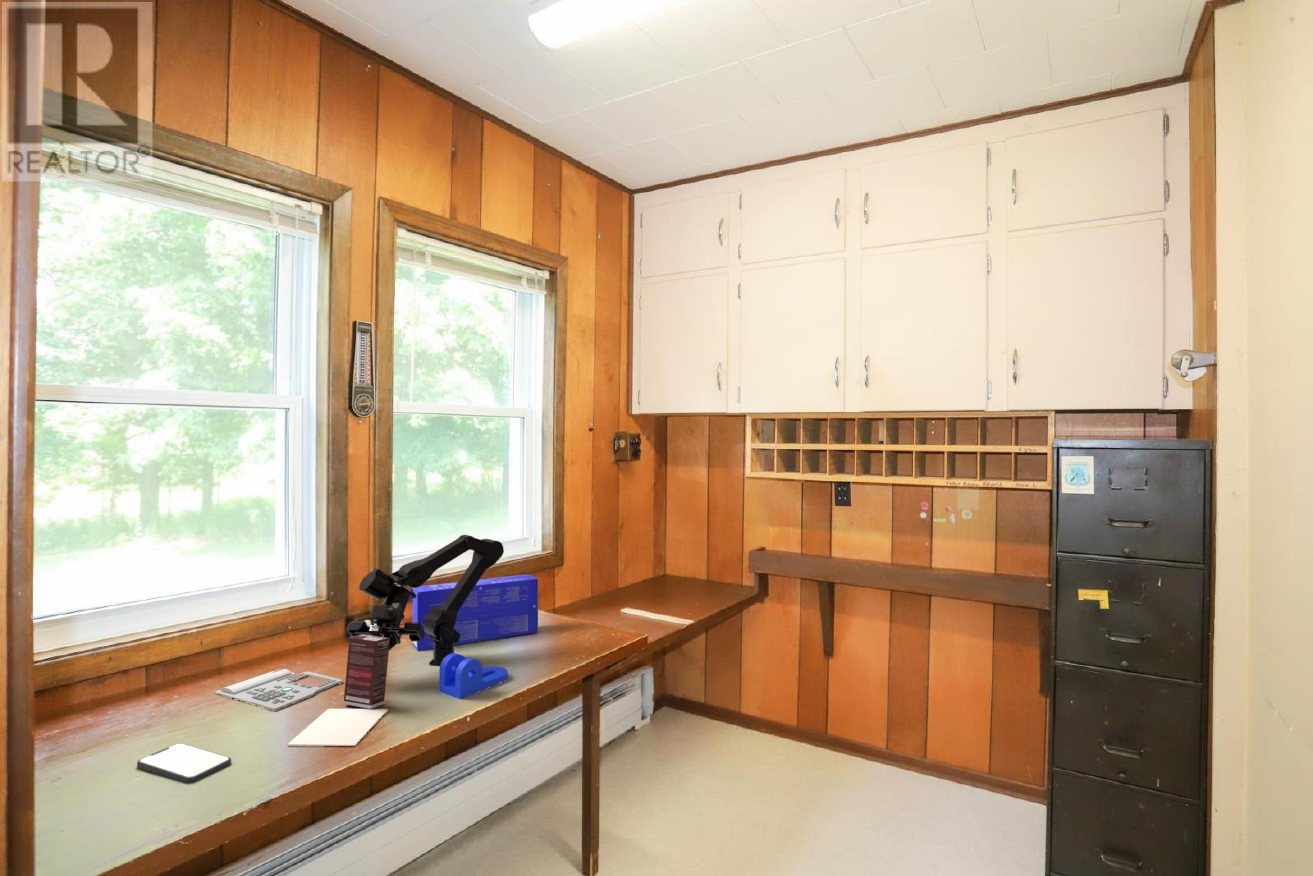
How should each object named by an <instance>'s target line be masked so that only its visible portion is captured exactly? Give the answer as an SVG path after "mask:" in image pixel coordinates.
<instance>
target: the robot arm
mask: <svg viewBox="0 0 1313 876" xmlns="http://www.w3.org/2000/svg"><path fill="white" fill-rule="evenodd" d="M470 550H471V551H473V552H472V558H471V559H472V560H471V562H470V564H469V565H468V567H467V568H466V570H465V571H464V573H462V575H461V577H460V578H459V580H458V583H457V584H456V586H455V587H454V589H453V590H452V592H451V593H450V595H449V596H448V598H447V599H446V600H445V602H444V603H443V604H442V605H441V606H439V607H436V606H433V607H432V608H431V610H430V612H429V613H428V614H427V615H426V616H425V617H424V618H426V619H425V621H424V624H423V625H424V630H425V632H426V633H428V635H429V637H430V639H433V640H434V649H433V652H432V653H433V654H432V655H433V658H432V659H431V660H430V661H429V663H428V664H429V666H433V665H434V666H437V665H438V666H440V665H441V662H442V661H443V659H444V658H445V657H446V656H447V655H449V654H451V653H455V646H454V643H455V642H458V641H459V638H460V634H459V633H458V632H457V631H456V630H455V629H454V628H453V627H454V625H455V623H456V619H457V613H458V611H459V609H460V608H461V606H462V605H463V603H464V602H465V600H466V599H467V597H468V596H469V594H470V593H471V591H472V590H473V588H474V587H475V585H476V584H477V582H478V581H479V580H481V578H482V576H483V575H484V574H485V572H486V571H487V570H488V569H490V568H492V566H494V565H496V563H497V562H498V561H499V560H501V558H502V557H503V555H504V553H505V550H504V546H503V543H502V542H501V541H499V540H493V539H491V538H490V539H489V538H483V539H482V538H481V539H479V538H476V537H474V536H473V535H469V534H461V535H459V536H458V538H456V539H455V540H453V541H451V542H450V543H448V544H446V545H445V546H443V547H441V548H440V549H437V550H436V551H435V552H433V553H431V554H429V555H428V556H426V557H424V558H421V559H416V560H413V561H411V562H408V563H405V564H403V565H402V566H400V567H399V568H398V570H396V571H395V572H392V573H389V574H386V573H385V572H383V571H382V570H381V569H379V568H377V567H374V569H373V570H372V571H370V572H368V573H367V574H366V576H363V578H362V580H361V581H360V583H359V587H358V588H359V591H360V592H362V593H365V594H366V595H368V596H370V597H371V598H373V599H375V600H377V601H380V600H382V599H383V600H384V602H383V604H381V605H380V604H372V605H371V611H370V614H369V615H370V616H369V618H370V619H373V620H372V622H373V625H372V624H371V625H370V626H368V624H367V622H366V621H365V620H352V621H350V622H349V623H347V627H346V632H347V634H348V635H349V638H350V637H353V636H357V635H362V634H364V635H371V636H378V637H386V638H390V643H389V652H390V650H392V649H393V648H394V647H395V646H396V645H400V644H401V639H402V638H401V637H402V636H408V638H409V640H410V641H411V642H413V641H416V642H421V641H423V638H424V630H423V628H422V626H421V624H420V623H419V622H413V621H406V622H405V623H404V624H403V626H401V623H402V620H404V619H405V615H404V613H405V610H406V607H407V603H408V602H409V601H413V599H414V598H416V597H417V596H416V594H415V593H414V592H413V588H417V587H420V586H423V585H424V584H425V583H426V582H427V581H428V580H429V579H430V578H431V577H432V576H433V574H434V573H435V572H436V571H437V570H439V569H441V568H442V567H443V566H445V565H447V564H448V563H450V562H452V561H453V560H454V559H456V558H458V557H460V556H461V555H463V554H464V553H466V552H468V551H470ZM406 587H407V588H406ZM408 587H409V588H411V589H408Z"/></svg>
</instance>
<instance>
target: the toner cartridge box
mask: <svg viewBox="0 0 1313 876" xmlns="http://www.w3.org/2000/svg"><path fill="white" fill-rule="evenodd" d="M457 583H458V582H457V581H456V582H447V583H438V584H429V585H421V586H420V587H417V588H412V589H413V592H414V593H415V594H416V596H417V597H416V598H414V599H412V622H419V623H420V624H421V626H422V628H423V630H424V625H423V624H424V621H425V619H426V618H424V617H425V616H426V615H427V614H428V613H429V612H430V610H431V608H432V607H433V606H436V607H439V606H441V605H442V604H443V603H444V602H445V600H446V599H447V598H448V596H449V595H450V593H451V592H452V590H453V589H454V587H455V586H456V584H457ZM453 628H454V629H455V630H456V631H457V632H458V633H459V634H460V638H459V641H458V642H455V643H454V645H455V646H460V645H461V646H462V645H467V644H466V643H468V644H473V642H474V643H479V641H481V642H486V641H487V642H488V641H492V640H497V639H504V638H509V637H515V636H521V635H527V634H536V633H539V579H538V578H537V577H536V576H534V575H532V574H521V575H511V576H502V577H491V578H485V579H479V581H478V582H477V584H476V585H475V587H474V588H473V590H472V591H471V593H470V594H469V596H468V597H467V599H466V600H465V602H464V603H463V605H462V606H461V608H460V609H459V611H458V613H457V619H456V623H455V625H454V627H453ZM412 645H413V647H414V646H415V647H414V648H415V650H416V651H417V652H421V651H420V650H422V651H428V650H427V649H429V650H432V649H433V648H434V640H433V639H430V637H429V635H428V633H426V632H425V630H424V638H423V641H421V642H416V641H412Z"/></svg>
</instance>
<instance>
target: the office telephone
mask: <svg viewBox="0 0 1313 876" xmlns="http://www.w3.org/2000/svg"><path fill="white" fill-rule="evenodd" d="M295 674H296V672H293V671H291V670H289V669H287V668H286V667H282V668H278V669H276V670H273V671H270V672H267V673H264V674H261V675H258V676H255V677H252V678H249V679H247V680H244V681H240V682H238V683H234V684H231V685H228V686H226V687H225V686H224V687H222V688H221V689H218V690H215V691H214V694H215V693H217V694H219V695H218V696H220V695H223V696H230V697H232V698H235V699H238V700H244V701H247V702H250V703H252V704H255V705H259V706H262V707H264V708H266V709H268V710H267V711H269V710H272V711H271V712H273V711H275V710H278V711H280V709H281V708H283V709H285V708H284V707H285V706H288V705H291V704H293V703H295V702H298V701H300V700H303V701H305V700H304V699H306V698H308V697H310V696H313V695H315V696H316V694H317V693H316V692H318V691H321V692H323V691H322V690H324V689H326V688H328V687H331V688H333V687H332V686H334V685H336V684H339V683H342V684H343V679H342V678H337V677H334V676H330V675H325V674H320V673H316V672H312V671H303V672H301V673H298V674H296V675H295ZM293 675H295V676H293ZM291 676H293V677H291ZM306 676H311V677H315V678H314V679H316V678H322V679H325V680H328V681H329V682H328V681H326V682H324V683H321V684H320V685H316V686H311V685H307V684H302V683H298V682H292V681H294V680H296V679H299V678H303V677H306ZM289 677H290V678H289ZM311 677H310V678H311ZM284 678H287V679H284ZM306 678H307V677H306ZM282 679H284V680H282ZM303 679H304V678H303ZM280 680H281V681H280ZM277 681H278V682H277ZM339 685H340V684H339ZM336 686H337V685H336ZM334 687H335V686H334ZM326 690H327V689H326ZM324 691H325V690H324ZM315 693H316V694H315ZM217 694H216V695H217ZM223 696H222V697H223ZM313 697H314V696H313ZM310 698H311V697H310ZM308 699H309V698H308ZM306 700H307V699H306ZM298 703H299V702H298ZM293 705H294V704H293ZM291 706H292V705H291ZM288 707H289V706H288ZM266 709H265V710H266ZM281 710H282V709H281ZM275 712H276V711H275Z"/></svg>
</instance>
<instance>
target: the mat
mask: <svg viewBox="0 0 1313 876" xmlns="http://www.w3.org/2000/svg"><path fill="white" fill-rule="evenodd" d="M388 711H389V709H388V708H372V709H368V708H327V709H326V710H325V711H324V712H323V713H321V714H320V715H319V716H318V717H317V718H316V719H314V720H313V722H311V723H310V724H308V726H307V727H305V728H304V729H303V730H301V732H300V733H299V734H298V735H297V736H295V737H294V738H293V739H292V740H291V741H290V742H288V743H287V747H324V746H355V747H356V746H357V745H358V744H359V743H360V742H361V741H362V740H363V739H364V737H366V735H367V734H368V733H369V732H370V731H371V730H372V729H373V728H374V727H373V726H376V724H378V722H379V721H380V720H382V718H383V717H384V716H385V715H386V714H387V713H388ZM384 714H385V715H384ZM383 715H384V716H383ZM382 716H383V717H382ZM379 719H380V720H379ZM372 727H373V728H372ZM371 728H372V729H371ZM370 729H371V730H370ZM369 730H370V731H369ZM367 732H368V733H367ZM362 738H363V739H362ZM361 739H362V740H361ZM360 740H361V741H360ZM358 742H359V743H358Z"/></svg>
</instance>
